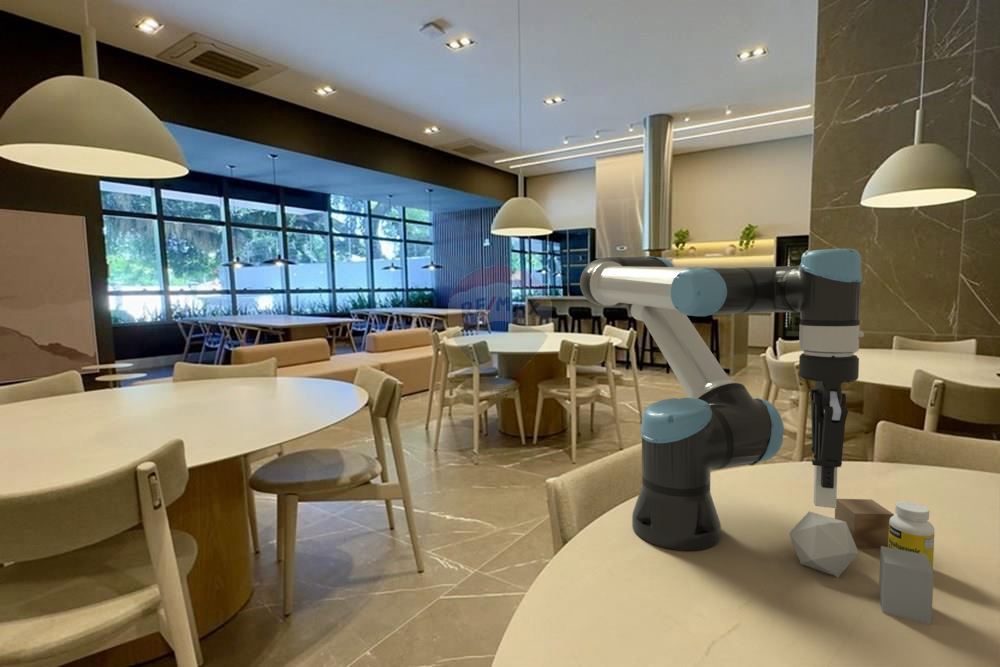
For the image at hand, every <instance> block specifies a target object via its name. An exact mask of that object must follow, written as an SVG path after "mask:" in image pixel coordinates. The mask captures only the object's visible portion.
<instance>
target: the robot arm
mask: <svg viewBox="0 0 1000 667" xmlns="http://www.w3.org/2000/svg"><path fill="white" fill-rule="evenodd" d="M863 280H864V279H863V276H862V257H861V253H860V252H859V251H858V250H856V249H853V248H830V249H829V248H828V249H815V250H807V251H806V252H803V253H802V255H801V261H800V263H799V265H790V266H789V265H787V266H786V265H785V266H783V265H782V266H762V267H761V266H760V267H759V266H755V267H753V266H752V267H747V266H746V267H705V266H703V267H699V266H698V267H697V266H696V267H684V266H682V267H680V266H679V267H678V266H676V267H675V265H674V264H673V263H672V262H671V261H670V260H668V259H666V258H664V257H656V256H653V255H645V256H643V257H642V256H638V257H637V256H621V257H620V256H616V257H615V256H610V257H608V256H607V257H601V258H598V259H595V260H593V261H591V262H590V263H589V264H587V265H586V266H585V267H584V269H583V271H582V273H581V275H580V279H579V287H580V291H581V293H582V295H583V296H584V298H585V299H586V301H588V302H590V303H591V304H594V305H595V306H599V307H609V308H611V307H626V308H627V309H628V312H629V313H630V315H631V317H633V319H635V320H636V321H640V322H643V324H644V325H645V327H646V329H647V330H648V331H649V334H650V335H651V336H652V338H653V340H654V342H655V344H656V345H657V347H658V349H659V350H660V352H661V354H662V356H663V357H664V359H665V360H666V362H667V364H668V365H669V367H670V368H671V370H672V372H673V373H674V375H675V377H676V379H677V380H678V382H679V383H680V386H681V387H682V389H683V390H684V392H685V394H686V396H687V397H681V398H677V397H675V398H674V397H672V398H666V399H662V400H658V401H656V402H655V401H654V402H653V403H650V404H649V405H648V406H647V407H646V408H645V409H644V411H643V412H642V419H641V428H640V435H641V488H640V489H639V490H640V491H639V494H638V496H637V499H636V502H635V504H634V505H635V506H634V507H633V511H632V517H631V518H632V520H631V523H632V525H631V526H632V529H633V531H634V532H635V534H636V535H637V537H639V538H641V539H642V540H644V541H646V542H647V543H650V544H652V545H655V546H658V547H661V548H665V549H668V550H669V549H670V550H675V551H700V550H707V549H709V548H711V547H714V546H716V545H717V544H718V543H719V542H720V540H721V537H722V536H721V535H722V534H721V528H722V525H721V521H720V517H719V513H718V512H717V508H716V506H715V502H714V500H713V497H712V493H711V472H712V471H717V470H722V469H731V468H735V467H740V466H741V467H742V466H743V467H744V466H753V465H756V464H760V463H762V462H767V461H769V460H771V459H772V458H774V457H775V456H776V455H777V454H778V453H779V451H780V450H781V448H782V445H783V443H784V437H783V436H784V434H785V429H784V428H785V427H784V426H785V425H784V422H783V419H782V416H781V414H780V411H779V410H778V409H777V408H776V406H774V404H773V403H772V402H770V401H769V400H767V399H762V398H759V397H757V398H753V396H752V395H751V393H750V392H749V391H748V389H747V388H746V386H745V385H744V383H741V382H739V381H733V380H731V379H730V377H729V376H728V375H727V373H726V371H725V370H724V369H723V367H722V366H721V364H720V363H719V361H718V360H717V358H716V357H715V355H714V354H713V353H712V350H710V348H709V347H708V345H707V343H706V342H705V341H704V339H703V338H702V336H701V335H700V333H699V331H698V330H697V329H696V327H695V326H694V324H693V323H692V321H691V320H690V318H689V317H690V316H692V317H707V316H713V315H714V316H715V315H716V316H718V315H730V314H731V315H732V314H733V315H735V314H736V315H738V314H758V313H762V314H763V313H798V314H799V317H800V318H799V322H800V323H799V336H798V338H799V339H798V340H799V343H798V344H799V345H798V346H799V347H798V348H799V350H800V351H802V353H801V354H800V355H799V356H798V357H799V359H798V361H799V363H798V368H799V369H798V373H799V374H798V375H799V377H801V378H802V379H803V380H808V381H812V382H814V388H812V389H811V388H810V392H809V398H810V410H811V415H810V416H811V453H813V458H814V460H813V459H812V460H811V463H812V464H811V465H812V466H814V469H813V470H814V471H813V472H814V474H813V478H814V480H813V504H814V506H815V507H820V508H830V509H835V508H836V499H838V496H837V495H838V494H837V489H838V485H837V484H838V468H842V465H843V462H842V460H843V449H844V440H845V428H846V420H847V417H848V414H849V410H848V407H847V406H846V403H847V397H846V395H847V394H846V393H843V391H842V390H843V389H842V388H843V387H842V384H843V383H852V382H855V381H857V380H858V379H859V373H860V372H859V371H860V357H858V355H856V354H855V353H857V352H859V351H860V339H859V338H864V337H865V336H864V335H865V333H864V331H862V330H860V322H861V321H860V310H861V308H860V307H861V298H862V297H861V296H862V285H863V284H862V283H863ZM688 316H689V317H688Z"/></svg>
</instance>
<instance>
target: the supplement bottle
mask: <svg viewBox="0 0 1000 667" xmlns="http://www.w3.org/2000/svg"><path fill="white" fill-rule="evenodd" d="M894 509H895V510H894V511H895V514H894V516H892V517H891V518H890V520H889V537H888V547H889V548H894V549H899V550H904V551H909V552H914V553H919V554H924V555H927V557H928V560H929V562H930V565H931V567H932V570H933V569H934V551H935V550H934V549H935V527H934V524H932V523H931V522H930V521H929V520H930V509H929V508H928V507H926V506H925V505H922V504H920V503H917V502H913V501H905V500H902V501H901V500H900V501H897V502H895V508H894ZM933 571H934V570H933Z"/></svg>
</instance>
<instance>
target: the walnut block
mask: <svg viewBox="0 0 1000 667" xmlns="http://www.w3.org/2000/svg"><path fill="white" fill-rule="evenodd" d="M894 515H895V513H893V512H891V511H890V510H888V509H887V508H885V507H884V506H883V505H881V504H880V503H878V502H876V501H875V500H873V499H869V498H867V499H866V498H865V499H863V498H860V499H859V498H836V508H834V519H837V520H841V521H844V522H846V523H847V526H848V528H849V530H850V533H851V535H852V538H853V540H854V543H855V545H856V547H857V549H875V550H876V549H879V550H881V546H884V547H888V537H889V520H890V518H891V517H892V516H894Z"/></svg>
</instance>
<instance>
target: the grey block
mask: <svg viewBox="0 0 1000 667" xmlns="http://www.w3.org/2000/svg"><path fill="white" fill-rule="evenodd" d="M879 554H880V556H879V560H880V561H879V586H878V593H879V595H878V596H879V600H880V606H881V611H882V613H884V614H887V615H891V616H895V617H898V618H899V617H900V618H902V619H903V618H904V619H907V620H911V621H914V622H919V623H923V624H926V623H928V624H927V625H930V624H931V625H932V619H933V618H932V617H933V616H932V614H933V598H934V596H933V594H934V593H933V592H934V570H932V567H931V565H930V562H929V560H928V557H927V555H924V554H919V553H914V552H909V551H904V550H899V549H894V548H889V547H884V546H881V549H880V553H879Z"/></svg>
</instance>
